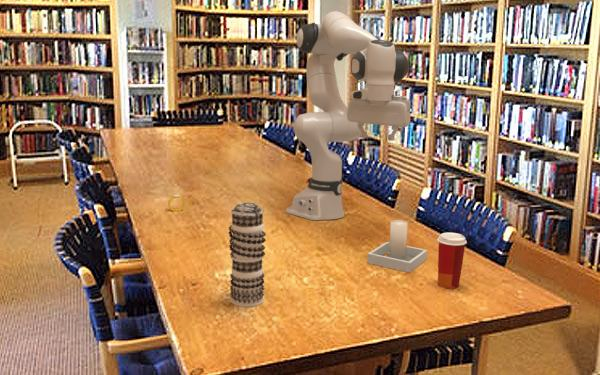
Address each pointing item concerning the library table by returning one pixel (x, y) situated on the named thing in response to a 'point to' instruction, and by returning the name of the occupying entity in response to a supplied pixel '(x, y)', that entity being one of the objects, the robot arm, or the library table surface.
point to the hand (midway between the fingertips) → (377, 138)
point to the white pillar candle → (398, 239)
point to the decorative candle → (247, 255)
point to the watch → (176, 197)
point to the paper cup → (450, 259)
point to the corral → (386, 261)
